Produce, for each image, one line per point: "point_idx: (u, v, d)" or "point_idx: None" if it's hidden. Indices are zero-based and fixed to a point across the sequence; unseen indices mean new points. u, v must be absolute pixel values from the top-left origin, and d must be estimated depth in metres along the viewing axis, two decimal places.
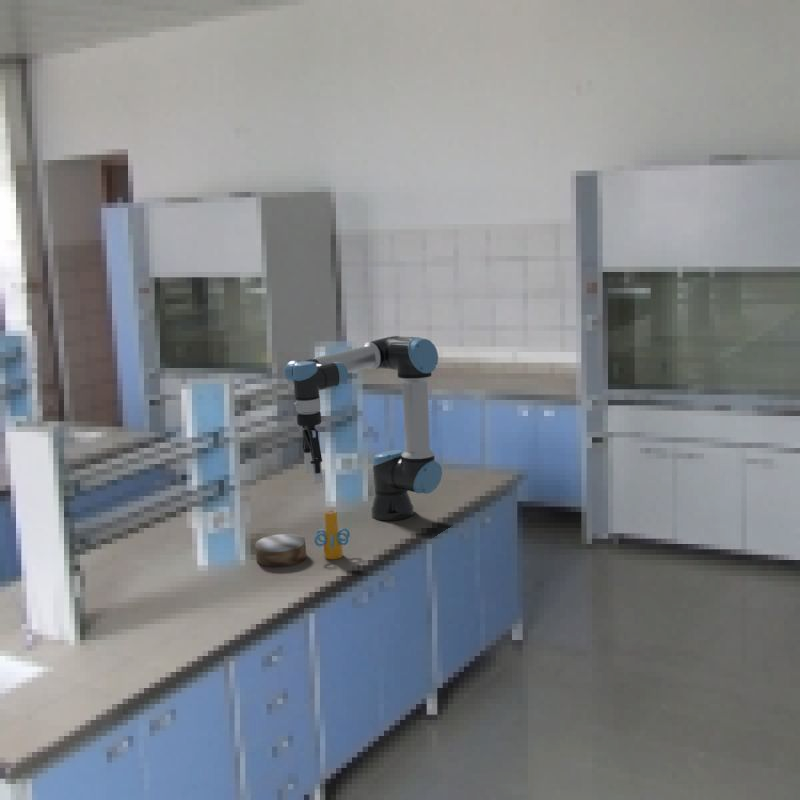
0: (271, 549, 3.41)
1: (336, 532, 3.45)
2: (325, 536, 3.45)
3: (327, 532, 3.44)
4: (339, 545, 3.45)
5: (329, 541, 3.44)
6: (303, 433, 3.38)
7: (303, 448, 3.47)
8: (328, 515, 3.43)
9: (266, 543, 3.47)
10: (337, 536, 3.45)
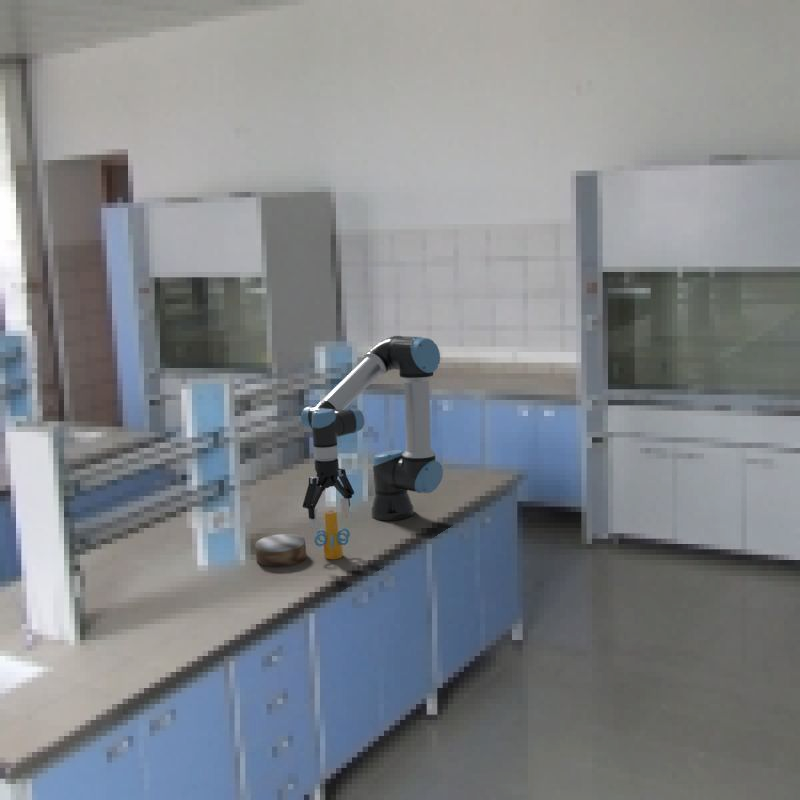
0: (271, 549, 3.41)
1: (336, 532, 3.45)
2: (325, 536, 3.45)
3: (327, 532, 3.44)
4: (339, 545, 3.45)
5: (329, 541, 3.44)
6: None
7: None
8: (328, 515, 3.43)
9: (266, 543, 3.47)
10: (337, 536, 3.45)
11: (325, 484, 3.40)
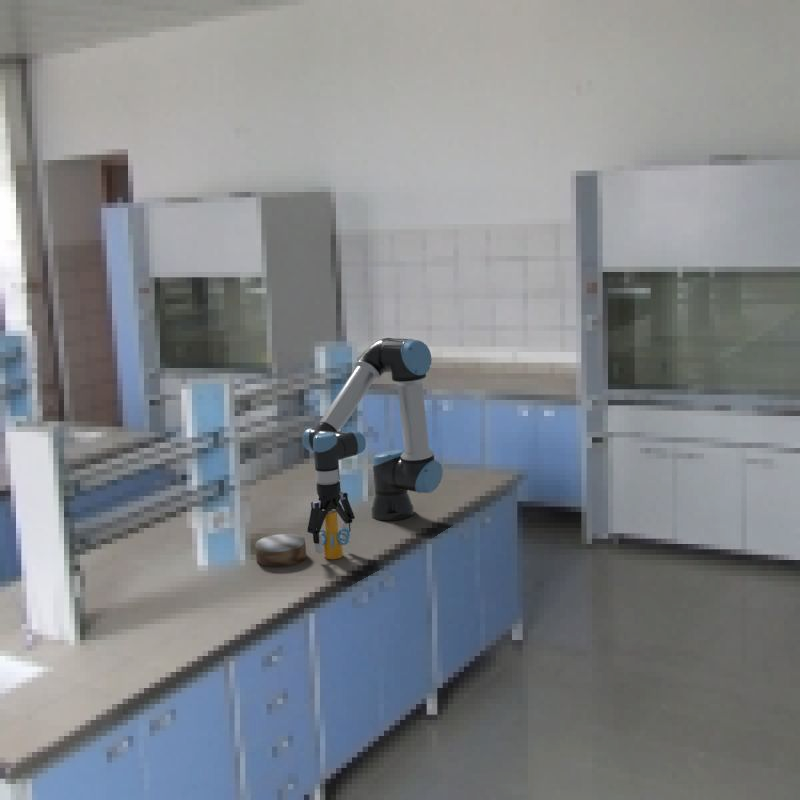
0: (271, 549, 3.41)
1: (336, 532, 3.45)
2: (325, 536, 3.45)
3: (327, 532, 3.44)
4: (339, 545, 3.45)
5: (329, 541, 3.44)
6: None
7: None
8: (328, 515, 3.43)
9: (266, 543, 3.47)
10: (337, 536, 3.45)
11: (328, 508, 3.41)
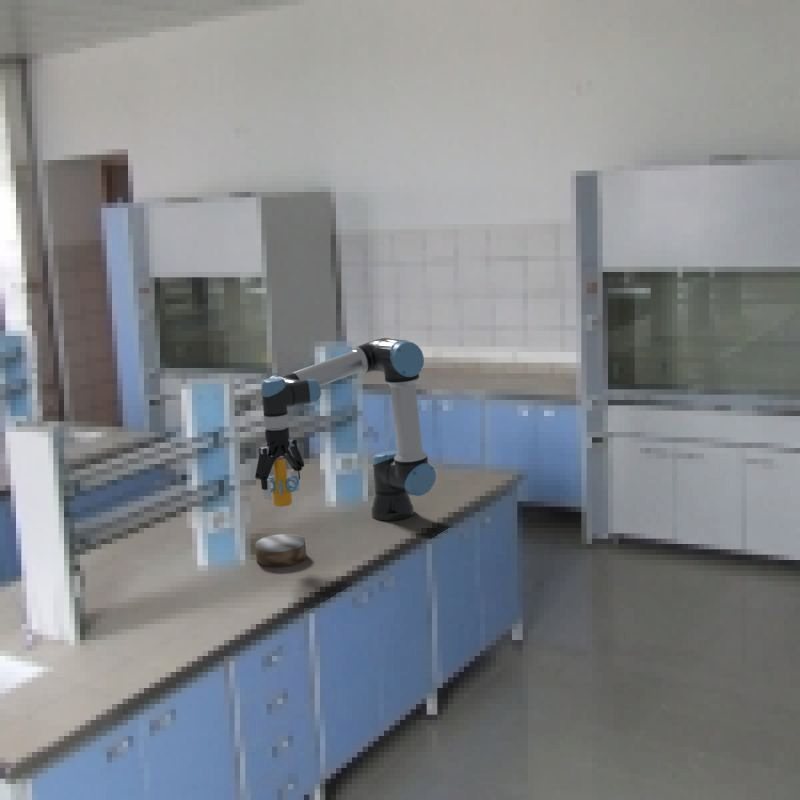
0: (271, 549, 3.41)
1: (285, 479, 3.42)
2: (274, 483, 3.42)
3: (276, 479, 3.42)
4: (288, 492, 3.42)
5: (278, 488, 3.42)
6: None
7: None
8: (277, 461, 3.40)
9: (266, 543, 3.47)
10: (286, 483, 3.42)
11: (276, 454, 3.39)
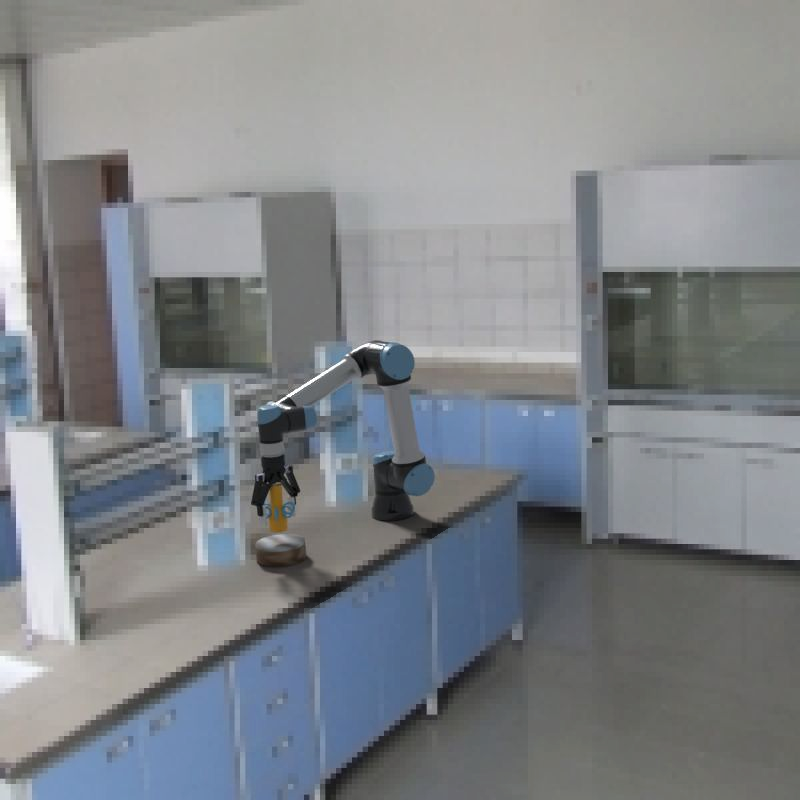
0: (271, 549, 3.41)
1: (281, 505, 3.44)
2: (270, 509, 3.44)
3: (272, 505, 3.44)
4: (284, 518, 3.44)
5: (274, 514, 3.44)
6: None
7: None
8: (272, 488, 3.42)
9: (266, 543, 3.47)
10: (282, 509, 3.44)
11: (272, 480, 3.41)
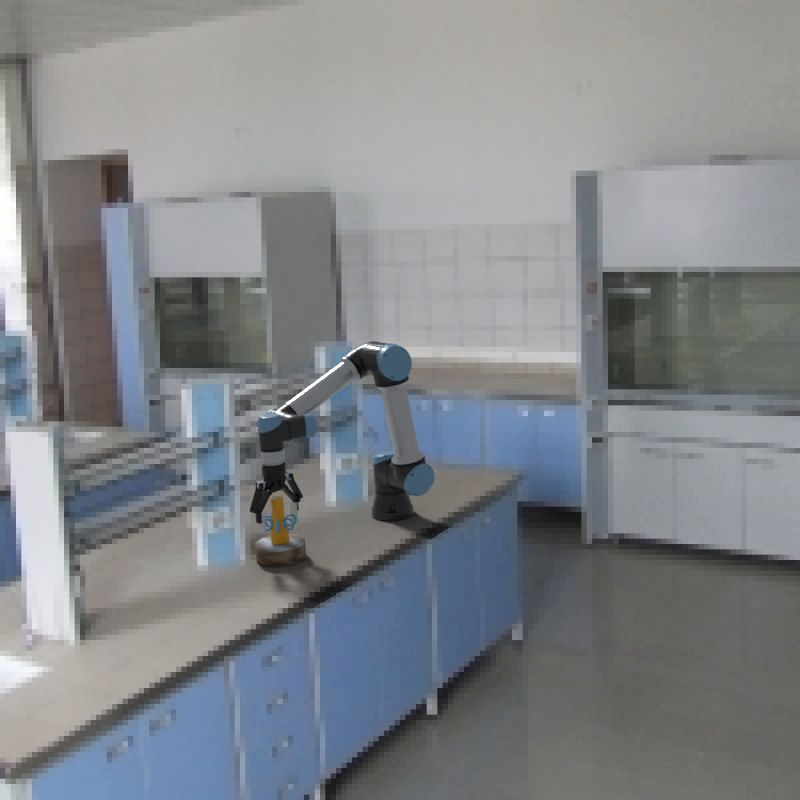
0: (271, 549, 3.41)
1: (282, 517, 3.45)
2: (271, 521, 3.45)
3: (273, 517, 3.44)
4: (285, 530, 3.45)
5: (275, 526, 3.45)
6: None
7: None
8: (274, 500, 3.43)
9: (266, 543, 3.47)
10: (283, 521, 3.45)
11: (272, 488, 3.41)
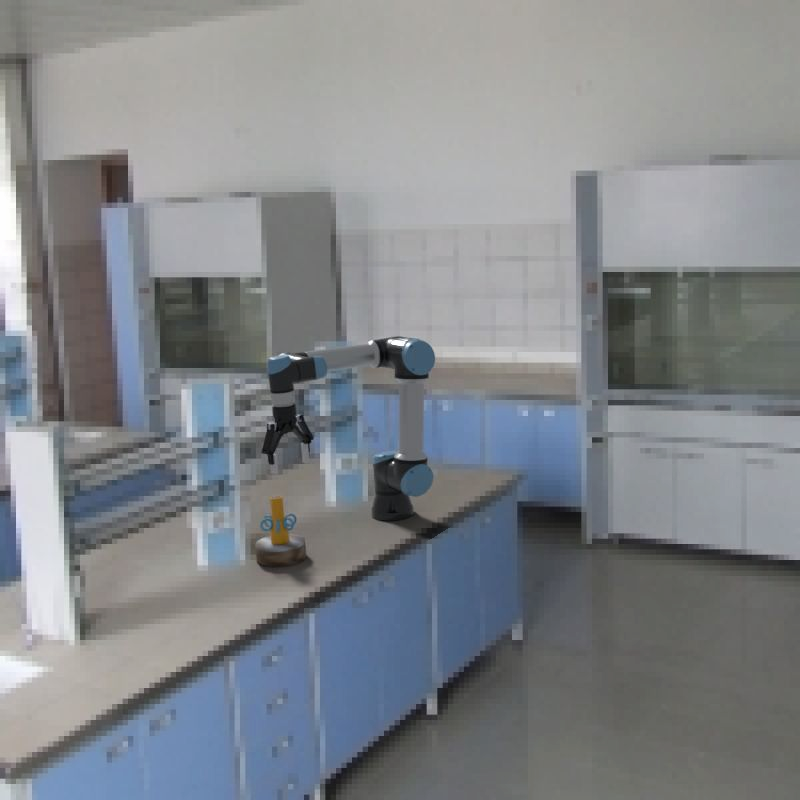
0: (271, 549, 3.41)
1: (282, 517, 3.45)
2: (271, 521, 3.45)
3: (273, 517, 3.45)
4: (285, 530, 3.45)
5: (275, 526, 3.45)
6: None
7: None
8: (273, 500, 3.43)
9: (266, 543, 3.47)
10: (283, 521, 3.45)
11: (283, 430, 3.43)
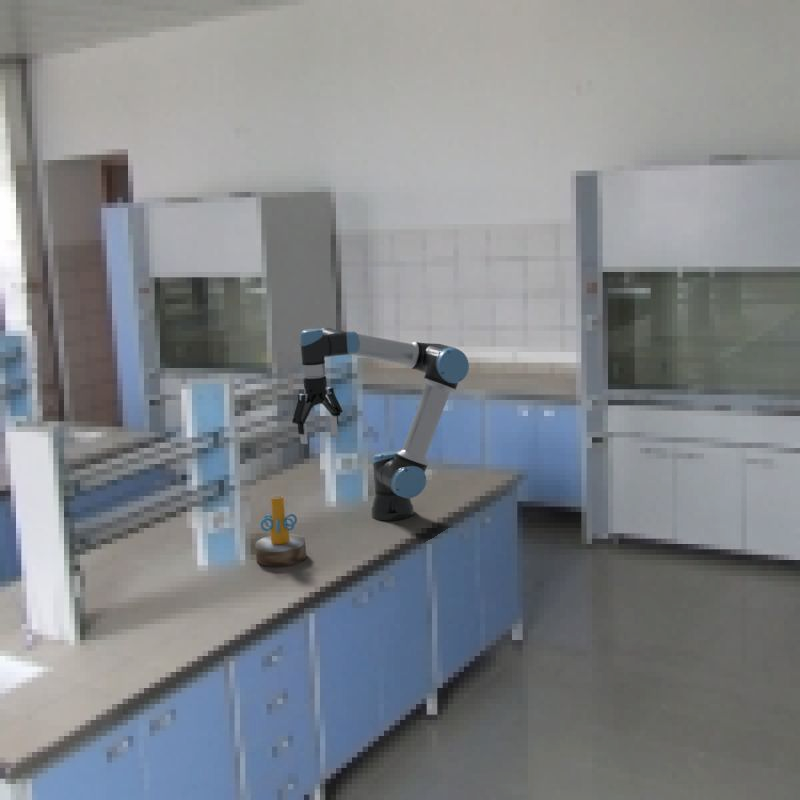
0: (271, 549, 3.41)
1: (282, 517, 3.45)
2: (271, 521, 3.45)
3: (273, 517, 3.45)
4: (285, 530, 3.45)
5: (275, 526, 3.45)
6: None
7: None
8: (274, 500, 3.43)
9: (266, 543, 3.47)
10: (283, 521, 3.45)
11: (314, 401, 3.53)
